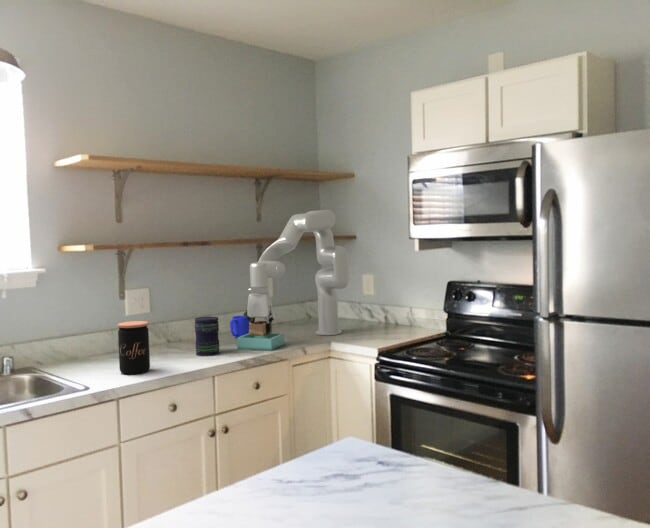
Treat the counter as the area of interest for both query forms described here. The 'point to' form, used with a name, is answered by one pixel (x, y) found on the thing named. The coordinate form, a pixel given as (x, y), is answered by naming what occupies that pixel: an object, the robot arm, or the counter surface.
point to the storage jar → (207, 336)
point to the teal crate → (260, 342)
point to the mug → (239, 326)
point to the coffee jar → (133, 347)
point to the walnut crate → (258, 328)
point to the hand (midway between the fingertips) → (260, 331)
